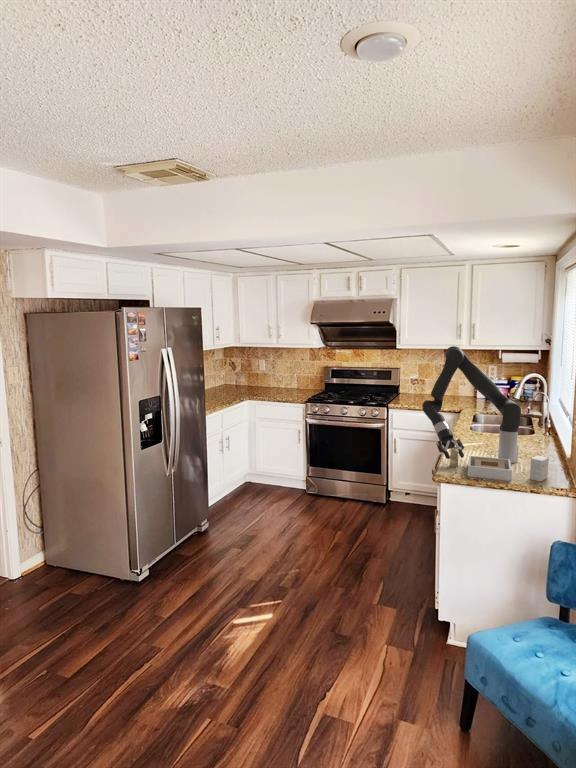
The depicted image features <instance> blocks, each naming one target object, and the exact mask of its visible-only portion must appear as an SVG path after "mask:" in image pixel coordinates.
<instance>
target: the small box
mask: <svg viewBox="0 0 576 768" xmlns="http://www.w3.org/2000/svg"><path fill="white" fill-rule="evenodd" d="M529 469H530V470H529V480H531V481H532V480H533V481H536V482H540V481H541V482H542V481H545V480H546V479H547V478H548V470H549V457H547V456H541V455H535V456H533V457H531V458H530V468H529Z"/></svg>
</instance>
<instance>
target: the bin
mask: <svg viewBox="0 0 576 768" xmlns="http://www.w3.org/2000/svg"><path fill="white" fill-rule="evenodd" d="M512 472H513V468H512V463H511V462H510V459H501V458H498V457H488V456H480V455H479V456H478V455H476V456H475V455H469V456H468V465H467V476H466V477H467V478H475V477H478V478H477V479H485V480H496V481H504V482H512V476H513V475H512Z"/></svg>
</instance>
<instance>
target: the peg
mask: <svg viewBox="0 0 576 768" xmlns="http://www.w3.org/2000/svg"><path fill="white" fill-rule="evenodd" d="M458 452H459V450H457V449H450V453H449V455H450V459H449V467H450V468H452V467H453V468H452V469H456V467H457V468H458V466H459V453H458Z"/></svg>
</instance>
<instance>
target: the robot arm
mask: <svg viewBox="0 0 576 768" xmlns="http://www.w3.org/2000/svg"><path fill="white" fill-rule="evenodd" d="M444 355H445V361H444V365H443V367H442V371H441V372H440V374H439V376H438V378H437V379H436V381H435V382H434V384H433V388H432V390H431V393H430V395H431V397H432V398H433V400H424V402H423V403H422V405H421V406H422V408H421V409H422V411H423V413H424V414H425V416H427V418H428V419H429V420H430V422H431V424H432V426H433V429H434V431H435V433H436V436H437V437H438V441H437V442H436V447H437V449H438V452H439V453H442V454H444V457H445V459H446V460H450V453H449V452H448V450H451V449H457V450H459V452H458V456H459V457H460V458H461V459H463V458H464V457H465V454H464V452H463V450H464V449H465V446H464V444H463V443H462V441H461V439H460V438H458V439H455V438H454V434H453V432H452V429H451V428H450V426H449V424H448V423H447V421H446V419H445V417H444V415H443V414H442V413H439V412H440V411H441V410H442V408H443V401H444V396H445V394H446V392H447V389H448V387H449V386H450V383H451V380H452V378H453V377H454V375H455V373H456V372H457V370H458V369H459V371H461V372H462V374H463V375H464V377H465V379H467V381H468V382H469V383H470V384H471V386H472V387H473V388H474V389H476V391H478V392H479V393H480V394H481V395H482V396H483V397H484V398H485V399H487V400H488V401H490V403H492V405H493V406H494V407H495V408H496V409H497V411H498V412H499V413H500V414H501V415H502V419H501V421H502V422H501V424H499V435H498V438H499V439H498V453H497V458H501V459H510V462H511V464H515V463H517V461H518V459H519V449H520V448H519V447H520V446H519V444H518V438H519V437H518V436H519V428H520V425H521V417H522V408H521V406H520V405H519V404H518V403H516V402H515V401H513V400H511V399H510V398H508V397H507V396H506V395H505V394H504V393H502V391H501V390H500V389H499V388H498V386H497V384H496V383H495V382H494V381H493V380H492V378H491V377H490V376H488V375H487V374H486V373H485V372H484V371H483V370H482V369H481V368H480V367H478V366H477V365H476V364H475V363H474V362H472V361H471V360H470V358H469V357H468V356H467V355H466V354H465V352H464V351H463V350H462V349H461V348H460V347H459V346H455V345H453V346H450V347H448V348H447V349H446V351H445V354H444Z"/></svg>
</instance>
